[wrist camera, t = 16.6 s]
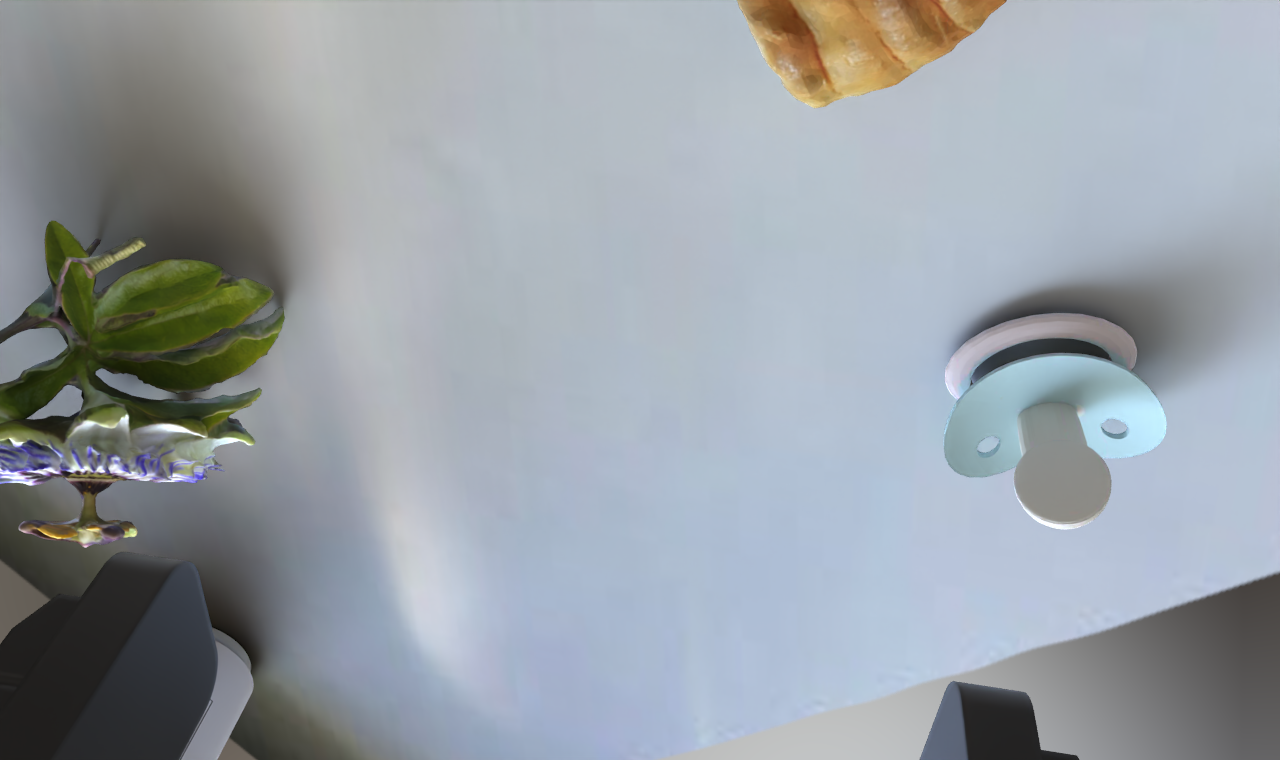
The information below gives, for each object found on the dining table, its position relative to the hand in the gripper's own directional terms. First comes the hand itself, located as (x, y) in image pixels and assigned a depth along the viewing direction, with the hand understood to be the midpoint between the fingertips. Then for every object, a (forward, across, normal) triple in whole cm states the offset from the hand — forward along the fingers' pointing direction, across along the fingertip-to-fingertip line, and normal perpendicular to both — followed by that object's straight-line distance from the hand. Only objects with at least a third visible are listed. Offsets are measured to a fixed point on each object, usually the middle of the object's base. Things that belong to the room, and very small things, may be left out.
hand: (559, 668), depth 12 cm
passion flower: (+27, +21, +17) cm, 38 cm away
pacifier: (+27, -13, +13) cm, 32 cm away
